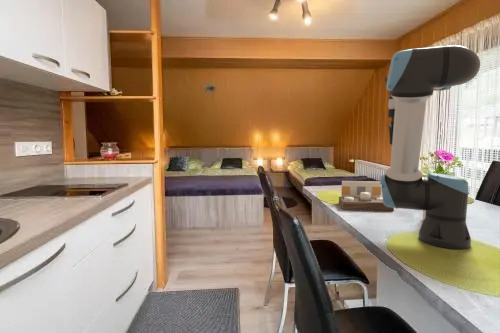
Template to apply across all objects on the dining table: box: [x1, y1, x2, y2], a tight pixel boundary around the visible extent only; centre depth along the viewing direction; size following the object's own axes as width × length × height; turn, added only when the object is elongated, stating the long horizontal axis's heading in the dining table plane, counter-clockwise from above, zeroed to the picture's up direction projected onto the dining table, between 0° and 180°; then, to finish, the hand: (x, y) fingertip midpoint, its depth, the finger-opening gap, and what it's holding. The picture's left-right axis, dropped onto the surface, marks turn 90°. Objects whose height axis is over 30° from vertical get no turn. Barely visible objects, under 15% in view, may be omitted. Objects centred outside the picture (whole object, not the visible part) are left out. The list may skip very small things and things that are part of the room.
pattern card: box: [340, 180, 382, 198], centre depth 157 cm, size 1×20×12 cm, turn 82°
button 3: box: [344, 197, 354, 201], centre depth 149 cm, size 5×5×4 cm
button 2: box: [360, 192, 370, 201], centre depth 148 cm, size 5×5×4 cm
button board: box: [338, 196, 395, 212], centre depth 148 cm, size 12×24×4 cm, turn 82°
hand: (394, 159), depth 136 cm, fingers closed
